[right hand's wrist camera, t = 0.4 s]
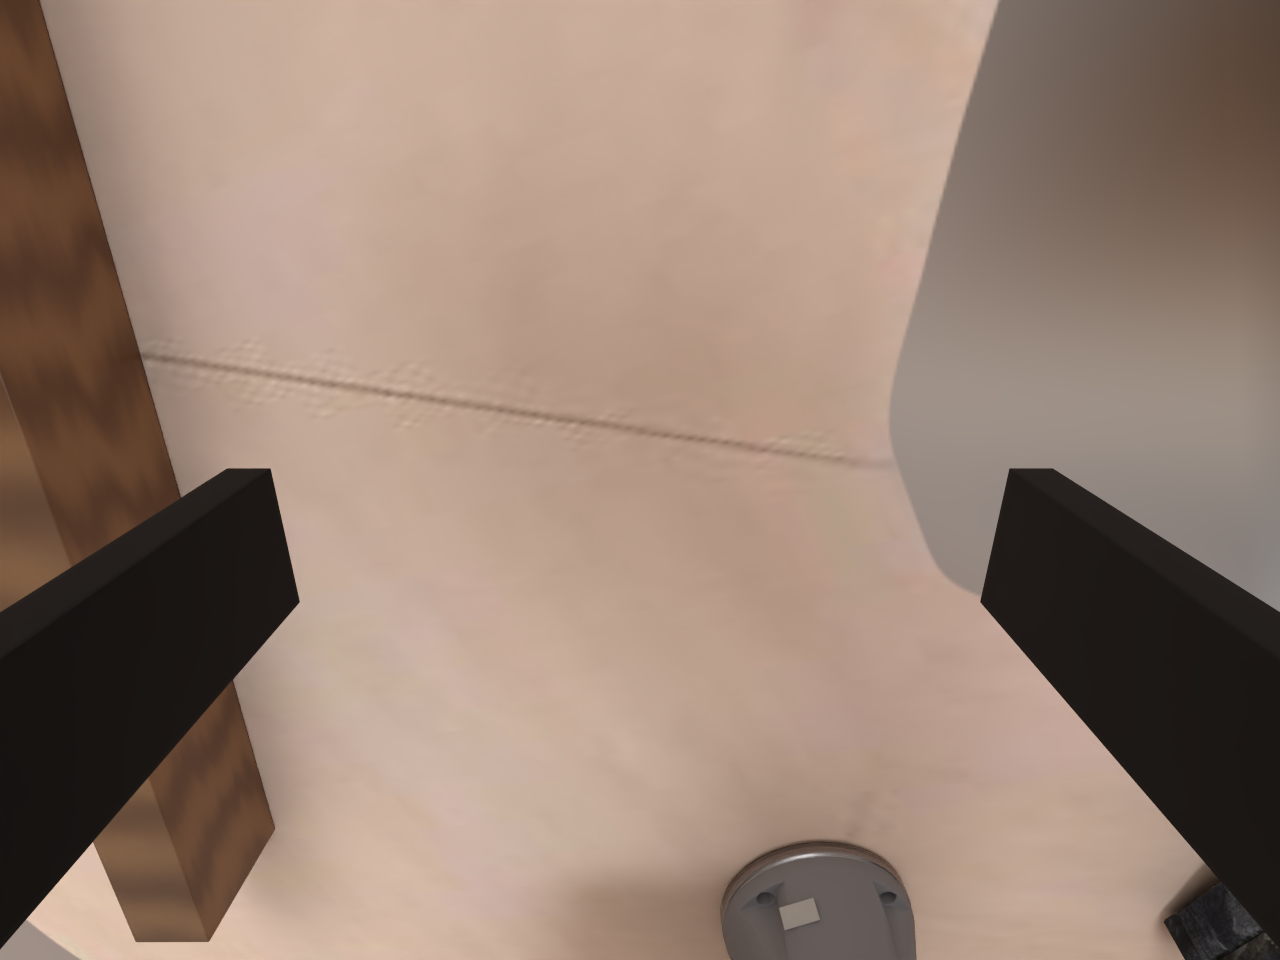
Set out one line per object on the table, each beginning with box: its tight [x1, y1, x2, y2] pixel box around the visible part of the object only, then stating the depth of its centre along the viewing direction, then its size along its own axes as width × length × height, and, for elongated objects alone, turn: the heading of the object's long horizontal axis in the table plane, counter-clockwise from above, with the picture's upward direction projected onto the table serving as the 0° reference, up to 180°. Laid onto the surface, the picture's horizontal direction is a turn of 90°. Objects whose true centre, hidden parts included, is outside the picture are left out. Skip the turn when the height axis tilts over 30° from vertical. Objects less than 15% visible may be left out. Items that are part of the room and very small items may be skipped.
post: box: [0, 0, 274, 942], centre depth 35 cm, size 72×5×9 cm, turn 0°
